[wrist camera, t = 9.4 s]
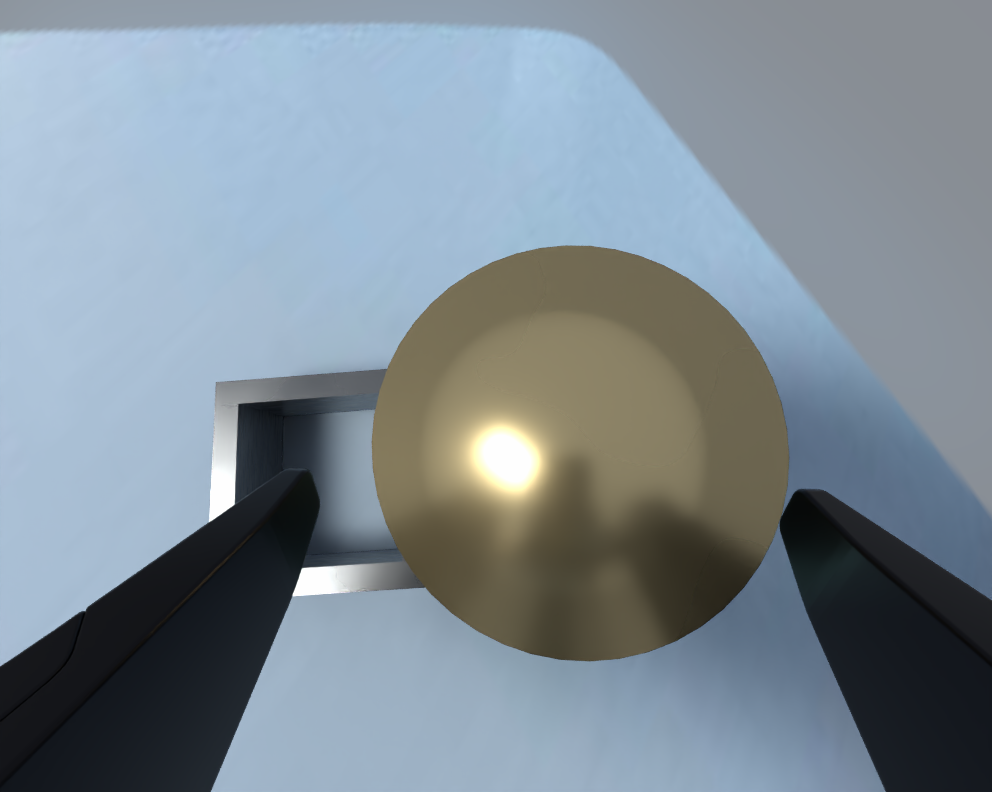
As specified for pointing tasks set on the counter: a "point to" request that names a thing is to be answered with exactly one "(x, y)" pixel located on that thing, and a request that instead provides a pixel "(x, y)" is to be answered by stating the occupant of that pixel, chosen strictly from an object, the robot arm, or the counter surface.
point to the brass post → (580, 453)
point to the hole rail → (258, 458)
